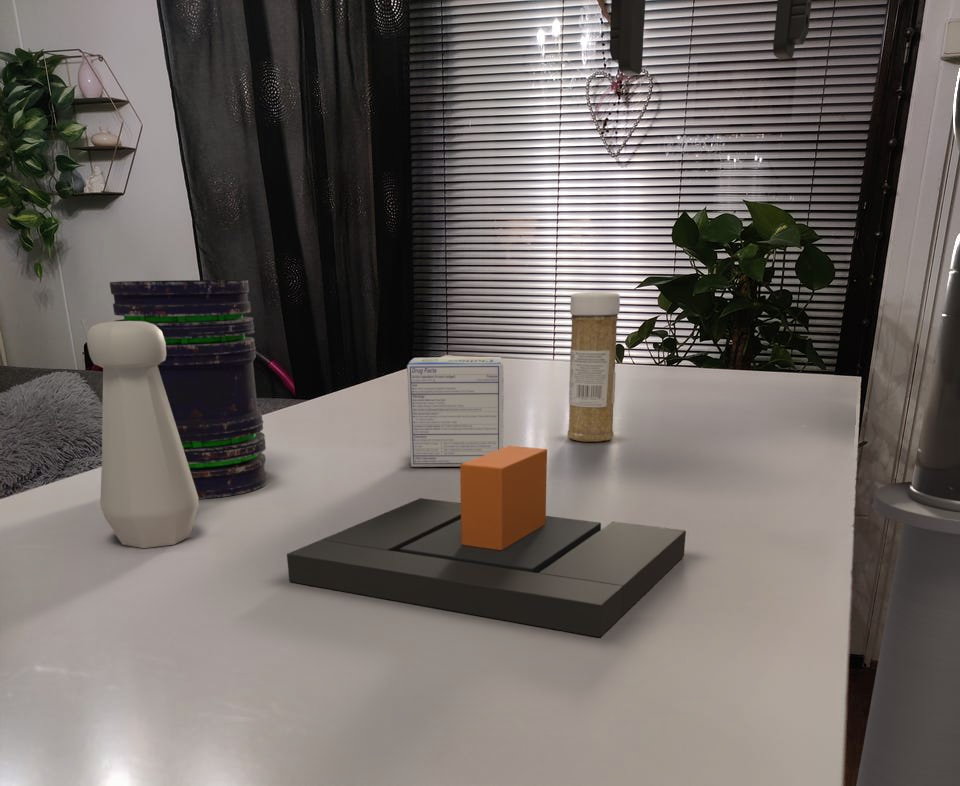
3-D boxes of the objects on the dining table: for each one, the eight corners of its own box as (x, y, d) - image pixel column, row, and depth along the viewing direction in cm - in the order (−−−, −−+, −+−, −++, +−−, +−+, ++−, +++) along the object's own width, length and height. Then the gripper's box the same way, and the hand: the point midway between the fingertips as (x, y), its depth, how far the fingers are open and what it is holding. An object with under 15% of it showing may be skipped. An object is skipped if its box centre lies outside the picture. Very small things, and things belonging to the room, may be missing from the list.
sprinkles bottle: (620, 437, 90) (628, 291, 85) (600, 444, 86) (607, 293, 81) (579, 433, 92) (584, 291, 87) (558, 440, 88) (562, 292, 83)
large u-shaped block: (420, 521, 61) (420, 497, 60) (684, 556, 53) (686, 530, 52) (288, 581, 49) (286, 553, 49) (600, 637, 42) (601, 605, 41)
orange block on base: (482, 532, 58) (482, 436, 56) (600, 547, 55) (605, 446, 52) (400, 576, 50) (395, 466, 48) (532, 598, 47) (534, 480, 44)
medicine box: (503, 458, 80) (504, 356, 77) (503, 468, 76) (503, 361, 73) (415, 458, 81) (411, 356, 77) (410, 468, 77) (406, 362, 73)
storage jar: (291, 474, 75) (274, 279, 69) (229, 503, 66) (203, 282, 60) (185, 468, 77) (160, 280, 71) (111, 495, 68) (76, 282, 63)
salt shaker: (89, 540, 57) (49, 322, 52) (169, 521, 61) (140, 317, 56) (139, 557, 54) (102, 326, 49) (221, 536, 58) (194, 320, 53)
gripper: (897, -326, 44) (848, 64, 50) (617, -252, 50) (605, 88, 56) (882, -421, 38) (828, 37, 44) (566, -323, 44) (557, 67, 50)
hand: (703, 65), depth 50 cm, fingers open, 8 cm apart
